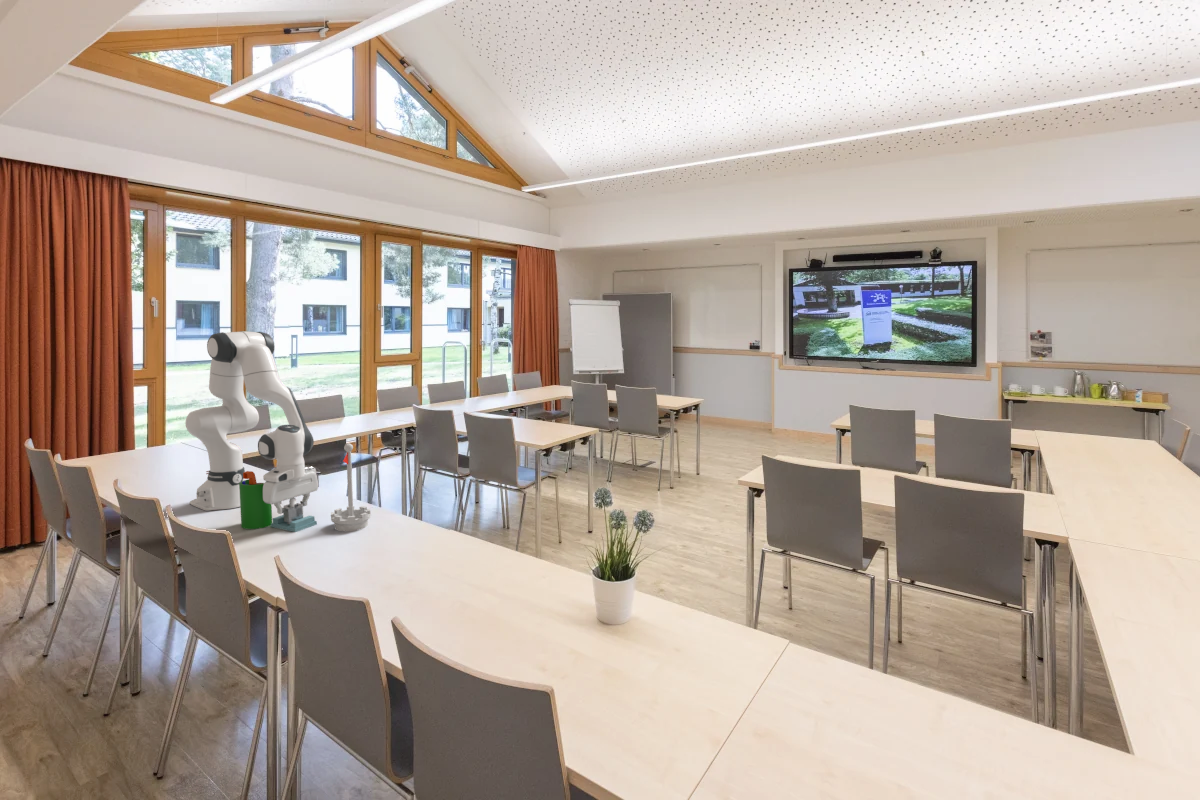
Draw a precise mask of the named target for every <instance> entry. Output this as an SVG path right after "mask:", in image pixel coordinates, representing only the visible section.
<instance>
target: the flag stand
mask: <svg viewBox="0 0 1200 800" xmlns="http://www.w3.org/2000/svg"><path fill="white" fill-rule="evenodd" d="M343 448H344V449H343V450H344V451H346V454H345V456H344V459H343V460H342V462H344V463H345V464H346V476H347V477H346V479H347V497H348V498H347V500H348V503H347V504H348V506H346V509H344V510H342V508H336V509H334V511H333V512H332V511H331V512H330V520H331V522H332V523H333V524H334V530H336V531H339V532H353V531H359V530H362V529H365V528H366V527H367V526H368V525H369V519H370V518H371V516H372V514H371V508H368V507H367V506H363V505H361V506H359V508H355V506H354V497H353V494H354V491H353V471H352V469H353V466H352V451H353V449H354V446H353V444H351V443H349V442H348V443H345V444H344V447H343Z"/></svg>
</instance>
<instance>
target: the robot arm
mask: <svg viewBox="0 0 1200 800" xmlns="http://www.w3.org/2000/svg"><path fill="white" fill-rule="evenodd" d="M206 350H207V353H208V355H209V356H210V358H211V360H210V366H209V367H210V369H209V379H208V380H209V381H208V382H209V384H208V390H209V392H210V393H211V394H212V395H213V396H214V397H216V398H218V399H220V400H222V405H218V406H210V407H203V408H199V409H195V410H193V411H190V412H189V413H188V414H187V416H186V418H185V422H184V423H185V427H186V430H187V431H188V433H189V434H190V435H191V436H192V437H195V438H197V439H198V440H200V441H201V443H202V444H203V445H204V447H205V449H206V451H207V454H208V462H209V470H207V471H205V472H206V473H205V474H206V475H207V479H206V481H205V482H203V483H202V484H201V485H199V486H198V487H197V489H196V498H195V499H192V500H190V501H189V505H191V506H194V507H196V508H198V509H201V510H203V511H216V510H217V511H218V510H229V509H235V508H239V507H240V490H239V483H240V482H241V481H244V480H247V479H243V473H244V472H246V470H245V467H244V461H243V460H244V459H243V450H242V448H241V447H240V445H238V444H237V443H234V442H231V441H229V440H228V436H227V435H228V434H235V433H242V432H243V433H244V432H246V431H249V430H251V429H253V428H256V427H257V425H258V423H259V420H260V414H259V411H258V410H257V408H256V407H255V406H253V405H252V404H251V403H250V402H249V401H248V400H247V398H246V396H245V392H244V386H245V389H246V390H247V393H249V394H250V395H251V396H253V397H254V398H256V399H258V400H262V401H264V402H265V401H266V402H269V403H273V404H274V405H276V406H279V407H280V408H281V409H282V411H283V412H284V414H285V417H286V420H287V422H288V424H282V425H278V427H276V429H275V430H274V431H271V432H268V433H265V434H264V433H263V434H262V435H261V437H259V440H258V441H257V451H258V454H259V455H260V456H261V457H262V458H263V459H265V460H276V467H274V468H273V469H271V470H269V471H268V472H266V473H265V474H263V481H264V482H263V483H264V485H263V501H264V502H265V503H267V504H271V505H274V507H275V509H276V510H277V514H278V515H282V514H283V513H284V512H285V511H284V508H283V507H282V506H281V505H283V504H282V502H284V501H287V500H290V499H291V498H297V497H301V496H302V499H301V500H300V503H299V504H303V507H307V506H308V500H309V499H310V496H311V493H314V492H317V491H318V489H319V481H318V475H317V469H316V468H315V467H313V466H311V465H310V466H308V467H306V466H305V463H306V462H305V458H304V456H306V455H308V454H309V453H310V452H311V450H312V449H313V448H314V447H313V446H314V442H315V441H314V437H313V434H312V433H311V431H310V429H309V428H308V425H307V424H306V421H305V419H304V416H303V413H302V412H301V411H302V410H301V408H300V406H299V404H298V402H297V400H296V399H297V398H296V396H295V395H294V393H293V391H292V389H291V388H290V387H288V386H286V385H285V384H284V383H283V381H282V379H281V377H280V375H279V372H278V368H277V364H276V361H275V358H274V356H273V354H274V352H275V341H274V339H273V338H272V336H271V335H270V334H269V333H267V332H262V331H247V330H246V331H245V330H244V331H243V330H241V331H230V332H222V331H221V332H217V333H213V334H211V335H210V336H209V337H208V340H207V342H206Z"/></svg>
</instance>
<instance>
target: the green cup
mask: <svg viewBox="0 0 1200 800" xmlns="http://www.w3.org/2000/svg"><path fill="white" fill-rule="evenodd" d="M243 479H246V480H244V481H241V482H240V483H239V490H240V523H241V524H240V526H241V529H245V530H257V529H259V530H260V529H262V528H267V527H271V523H273V512H272V509H273V508H272V504H267V503H265V502H264V501H263V485H264V483H265V482H257V477H256V474H255V472H254V471H251V470H250V471H249V470H247V471H246V470H245V472H244V473H243Z"/></svg>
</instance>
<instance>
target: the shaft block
mask: <svg viewBox="0 0 1200 800" xmlns="http://www.w3.org/2000/svg"><path fill="white" fill-rule="evenodd" d="M296 503H297V499H296V497H294V498H291V499H289V503H288V504H290V508H291V507H297V504H296ZM315 518H316V517H315V516H314V515H313V516H312V515H307V516H303V518H301V519H298V520H295V521H292V522H290V523H289V522H284V514H283V515H282V514H280V515H279V516H275V517H272V523H271V526H270V527H271V528H275V529H280V530H285V531H288V532H293V533H296V532H300V531H302V530H305V529H308V528H311V527H314V526H316V525H318V524H317V521H316V519H315Z"/></svg>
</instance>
